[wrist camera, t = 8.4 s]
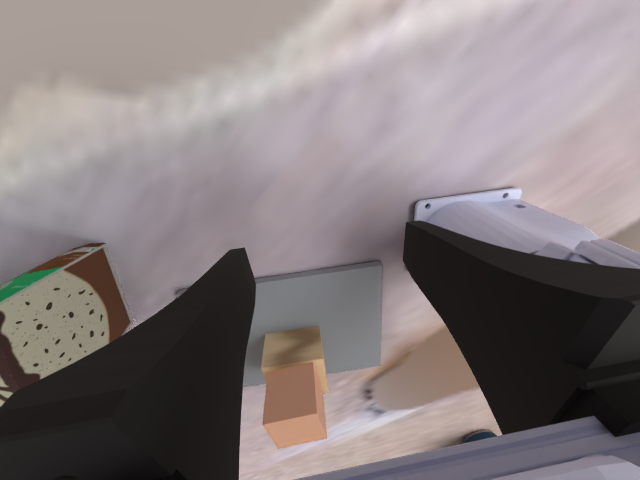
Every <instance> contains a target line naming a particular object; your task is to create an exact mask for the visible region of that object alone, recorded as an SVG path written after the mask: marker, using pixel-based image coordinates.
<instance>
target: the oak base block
mask: <svg viewBox="0 0 640 480" xmlns="http://www.w3.org/2000/svg"><path fill="white" fill-rule="evenodd" d="M309 362H313V363H314V366H315V368H316V371H317V374H318V377H319V380H320V383H321V385H322V391H323V394H327V393H329V392H328V383H327V375H326V367H325V359H324V352H323V346H322V339H321V333H320V327H319V326H314V327H308V328H301V329H294V330H288V331H281V332H274V333H268V334H265V341H264V348H263V356H262V364H261V370H262V372H263V375H264V378H265V380H266V383H267V375H268V371H272V370H277V369H281V368H286V367H291V366H295V365H300V364H305V363H309Z"/></svg>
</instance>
